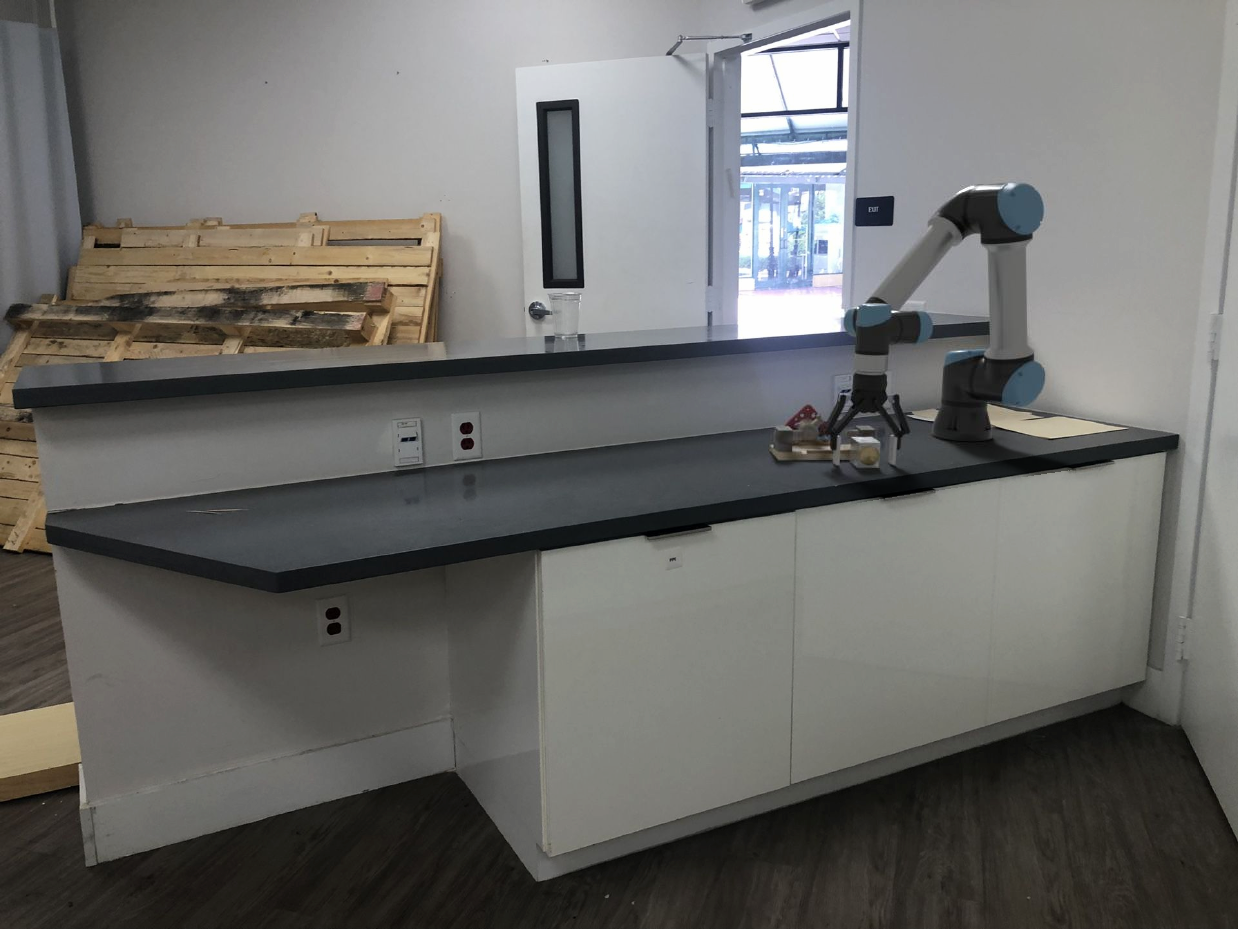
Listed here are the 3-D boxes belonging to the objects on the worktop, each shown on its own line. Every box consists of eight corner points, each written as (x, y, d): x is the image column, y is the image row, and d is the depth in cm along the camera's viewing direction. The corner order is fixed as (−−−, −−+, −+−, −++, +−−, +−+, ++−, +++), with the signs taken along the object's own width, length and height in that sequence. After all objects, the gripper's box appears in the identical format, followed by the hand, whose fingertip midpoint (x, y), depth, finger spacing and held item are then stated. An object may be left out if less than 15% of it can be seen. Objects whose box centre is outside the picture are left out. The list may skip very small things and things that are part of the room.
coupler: (848, 461, 229) (850, 436, 228) (869, 460, 229) (870, 436, 228) (858, 469, 221) (860, 443, 220) (879, 469, 222) (881, 443, 220)
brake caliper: (824, 433, 250) (831, 401, 240) (828, 466, 243) (835, 434, 233) (780, 432, 250) (785, 401, 241) (783, 465, 243) (788, 434, 234)
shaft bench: (865, 450, 240) (867, 423, 239) (878, 459, 231) (880, 431, 229) (769, 450, 239) (771, 424, 237) (778, 460, 229) (780, 432, 228)
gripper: (917, 369, 225) (910, 459, 230) (812, 370, 223) (807, 460, 228) (929, 374, 217) (921, 466, 222) (821, 374, 216) (816, 467, 221)
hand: (864, 463), depth 225 cm, fingers open, 12 cm apart
